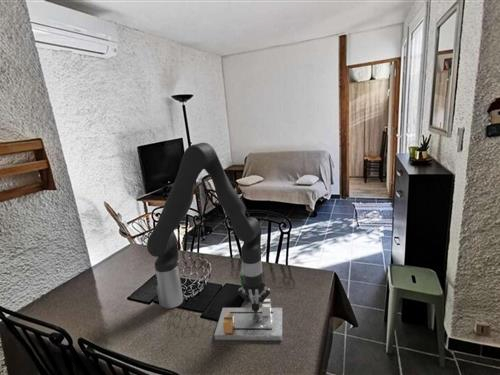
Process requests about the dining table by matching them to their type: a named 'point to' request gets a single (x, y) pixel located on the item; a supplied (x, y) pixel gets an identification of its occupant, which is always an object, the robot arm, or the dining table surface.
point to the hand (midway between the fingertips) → (255, 310)
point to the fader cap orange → (228, 323)
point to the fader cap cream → (266, 307)
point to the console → (251, 325)
